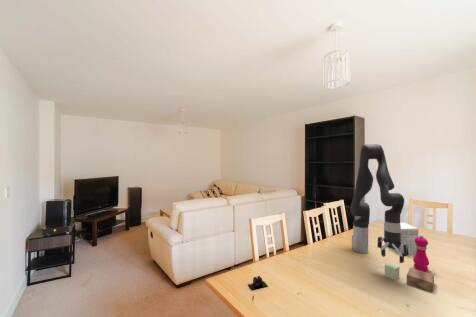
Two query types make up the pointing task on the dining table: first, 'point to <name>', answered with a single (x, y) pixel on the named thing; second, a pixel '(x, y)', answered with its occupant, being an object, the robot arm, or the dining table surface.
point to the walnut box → (420, 279)
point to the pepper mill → (421, 254)
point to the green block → (392, 271)
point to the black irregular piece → (257, 283)
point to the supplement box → (408, 238)
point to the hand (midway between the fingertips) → (392, 259)
